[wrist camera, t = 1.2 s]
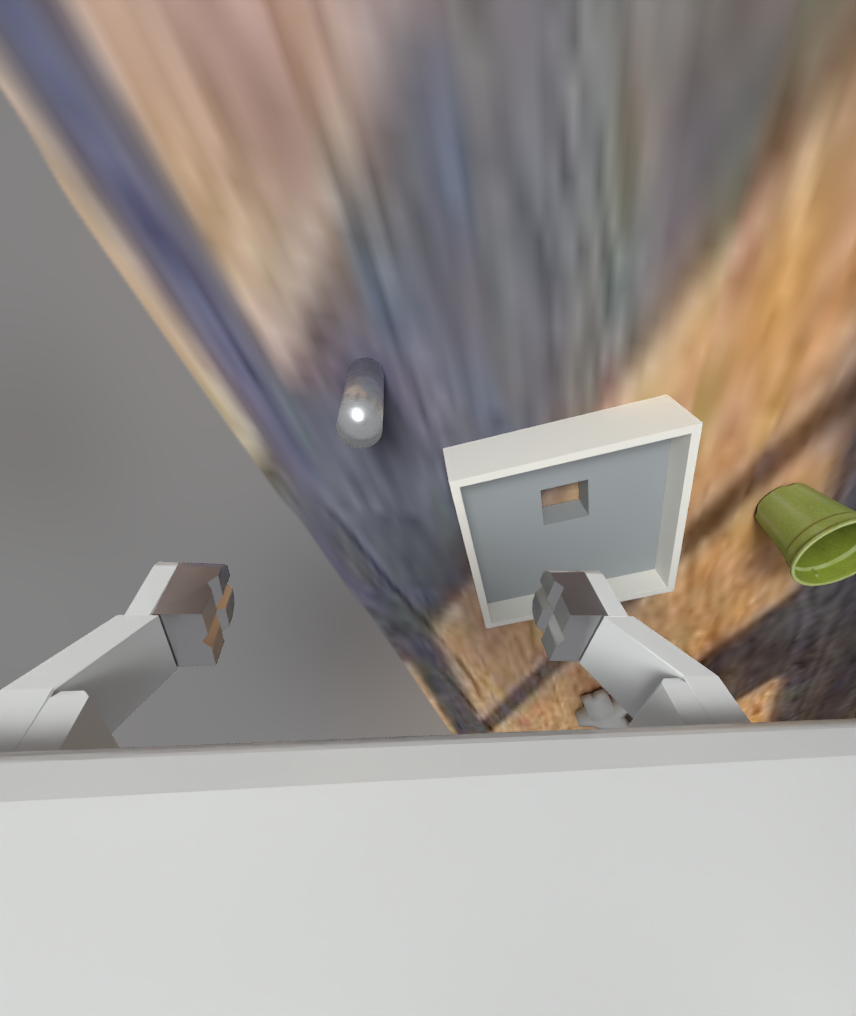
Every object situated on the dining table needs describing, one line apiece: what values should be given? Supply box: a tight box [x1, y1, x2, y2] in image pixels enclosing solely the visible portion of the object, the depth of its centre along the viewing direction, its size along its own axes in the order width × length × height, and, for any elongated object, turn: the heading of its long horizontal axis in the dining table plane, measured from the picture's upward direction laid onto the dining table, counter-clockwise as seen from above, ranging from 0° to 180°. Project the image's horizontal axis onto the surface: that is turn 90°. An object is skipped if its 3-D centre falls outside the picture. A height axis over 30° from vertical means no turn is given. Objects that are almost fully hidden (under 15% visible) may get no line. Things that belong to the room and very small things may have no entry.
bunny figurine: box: [575, 689, 630, 729], centre depth 76 cm, size 10×5×15 cm
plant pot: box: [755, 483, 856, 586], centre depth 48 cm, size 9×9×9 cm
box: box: [443, 394, 703, 629], centre depth 47 cm, size 22×22×6 cm
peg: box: [337, 358, 384, 448], centre depth 34 cm, size 3×3×10 cm
